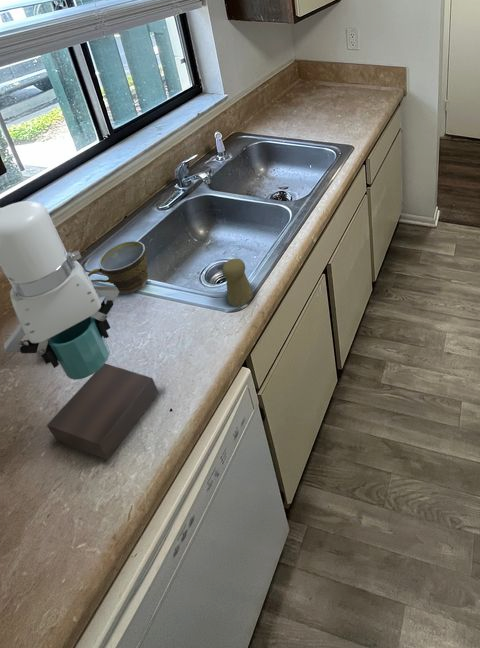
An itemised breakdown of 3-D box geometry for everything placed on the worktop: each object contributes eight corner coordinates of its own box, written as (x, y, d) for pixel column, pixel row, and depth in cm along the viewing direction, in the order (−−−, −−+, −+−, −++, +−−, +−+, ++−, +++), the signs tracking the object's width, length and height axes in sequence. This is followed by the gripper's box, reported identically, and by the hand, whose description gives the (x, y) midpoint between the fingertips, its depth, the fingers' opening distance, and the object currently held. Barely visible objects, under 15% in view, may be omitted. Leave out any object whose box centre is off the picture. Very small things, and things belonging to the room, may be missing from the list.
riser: (56, 440, 80) (46, 425, 78) (111, 378, 91) (103, 362, 89) (108, 460, 78) (99, 444, 75) (159, 393, 88) (152, 377, 86)
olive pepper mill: (243, 282, 113) (235, 250, 108) (258, 293, 110) (250, 261, 105) (222, 298, 108) (213, 266, 104) (237, 310, 105) (229, 277, 100)
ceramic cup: (148, 263, 119) (138, 235, 115) (160, 283, 113) (150, 255, 108) (93, 290, 111) (79, 261, 107) (103, 314, 105) (89, 284, 100)
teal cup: (56, 374, 77) (36, 340, 73) (89, 340, 83) (73, 307, 79) (86, 384, 75) (68, 350, 71) (118, 348, 81) (103, 315, 77)
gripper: (99, 234, 77) (128, 304, 85) (-32, 292, 66) (15, 366, 74) (111, 256, 72) (141, 328, 80) (-29, 322, 61) (22, 398, 69)
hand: (80, 346), depth 77 cm, fingers closed on teal cup, 6 cm apart
